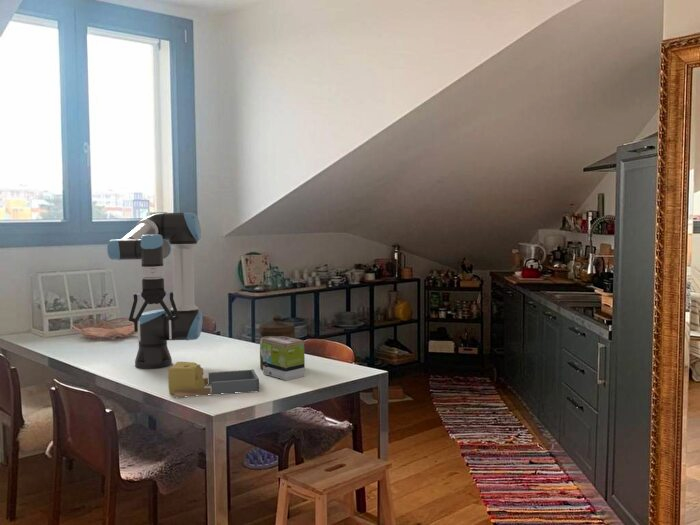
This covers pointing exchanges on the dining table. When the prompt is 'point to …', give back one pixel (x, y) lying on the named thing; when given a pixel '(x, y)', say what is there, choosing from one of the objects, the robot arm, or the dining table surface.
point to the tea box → (283, 357)
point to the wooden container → (275, 332)
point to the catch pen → (233, 381)
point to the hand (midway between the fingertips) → (155, 339)
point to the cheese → (185, 376)
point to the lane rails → (193, 391)
